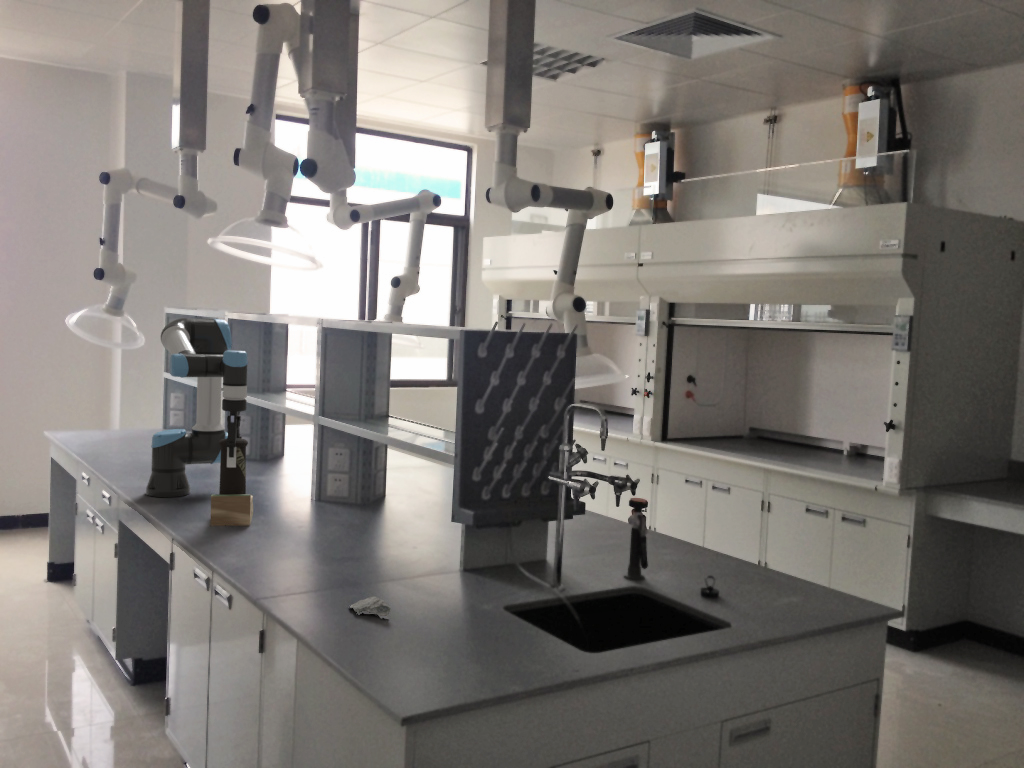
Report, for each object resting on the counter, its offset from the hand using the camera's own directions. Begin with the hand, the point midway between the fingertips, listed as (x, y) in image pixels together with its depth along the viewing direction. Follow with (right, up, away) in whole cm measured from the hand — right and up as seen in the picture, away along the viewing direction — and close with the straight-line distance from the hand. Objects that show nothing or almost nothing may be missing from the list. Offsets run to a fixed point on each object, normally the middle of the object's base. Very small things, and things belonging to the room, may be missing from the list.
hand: (233, 463), depth 291 cm
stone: (+58, -28, -83) cm, 105 cm away
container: (0, -12, +1) cm, 12 cm away
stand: (-1, -19, +2) cm, 19 cm away
